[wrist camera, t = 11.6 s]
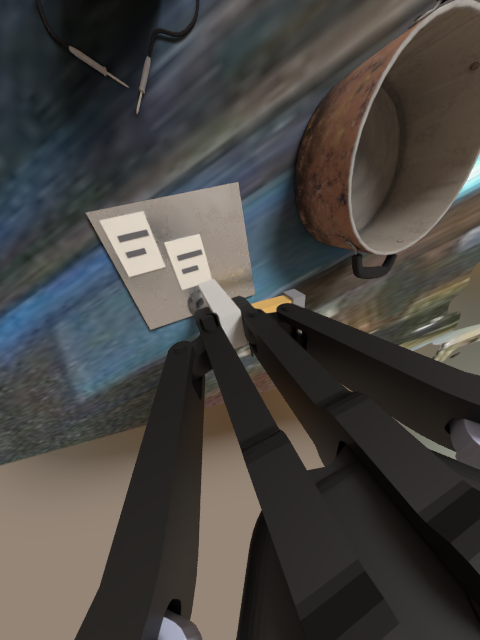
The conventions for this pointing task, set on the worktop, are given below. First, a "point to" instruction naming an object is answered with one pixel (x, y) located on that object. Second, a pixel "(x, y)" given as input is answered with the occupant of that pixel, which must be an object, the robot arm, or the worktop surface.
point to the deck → (176, 223)
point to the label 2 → (189, 261)
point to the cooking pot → (395, 139)
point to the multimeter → (103, 69)
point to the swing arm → (281, 301)
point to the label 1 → (133, 243)
